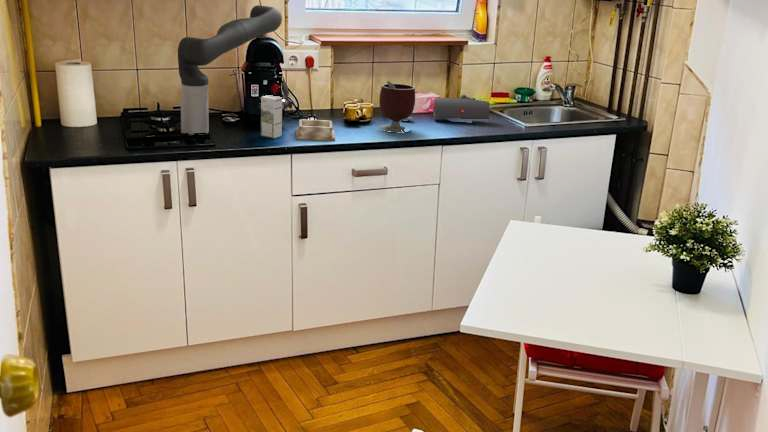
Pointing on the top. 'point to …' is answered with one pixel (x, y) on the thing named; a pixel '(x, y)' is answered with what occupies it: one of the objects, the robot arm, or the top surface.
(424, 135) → the top surface
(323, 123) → the beige square tray
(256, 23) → the robot arm
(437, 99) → the bluetooth speaker
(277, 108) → the syrup box
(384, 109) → the mate gourd
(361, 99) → the tin
